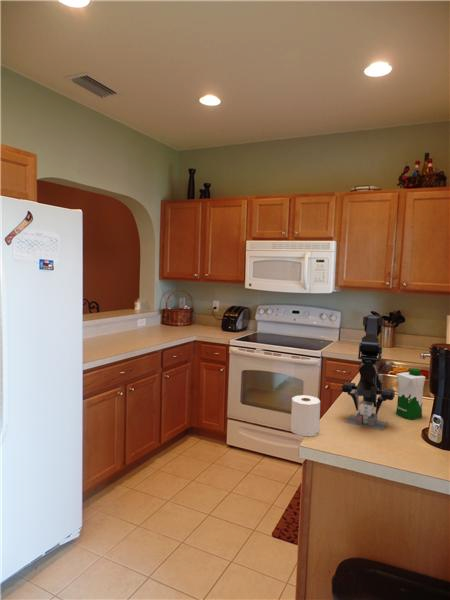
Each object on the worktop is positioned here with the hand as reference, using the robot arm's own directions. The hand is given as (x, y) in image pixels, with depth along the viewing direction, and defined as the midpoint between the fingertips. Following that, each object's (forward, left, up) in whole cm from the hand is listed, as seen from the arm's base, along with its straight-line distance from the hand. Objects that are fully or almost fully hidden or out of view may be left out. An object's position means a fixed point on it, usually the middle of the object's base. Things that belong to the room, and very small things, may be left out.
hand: (366, 412), depth 156 cm
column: (0, 0, -4) cm, 4 cm away
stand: (0, 0, -5) cm, 5 cm away
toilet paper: (+19, -18, -5) cm, 27 cm away
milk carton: (-17, +13, -5) cm, 22 cm away
